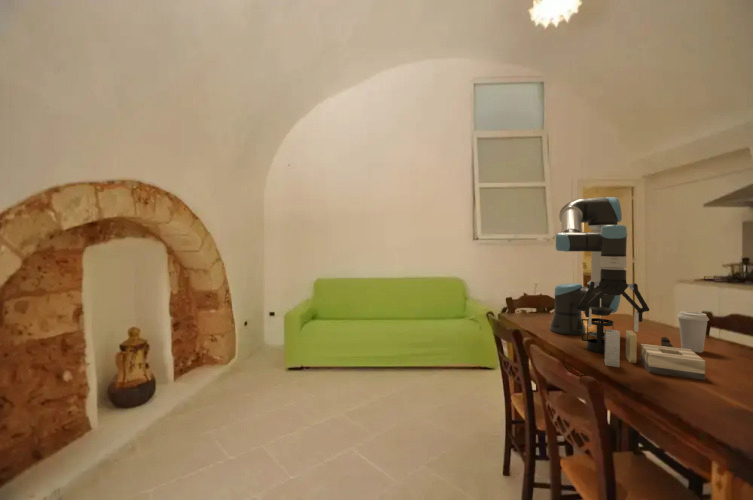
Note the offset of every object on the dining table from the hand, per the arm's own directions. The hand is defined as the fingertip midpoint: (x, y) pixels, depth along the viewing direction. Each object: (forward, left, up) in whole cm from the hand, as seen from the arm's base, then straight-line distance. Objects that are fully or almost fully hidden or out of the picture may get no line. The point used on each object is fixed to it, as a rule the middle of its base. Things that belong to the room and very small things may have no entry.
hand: (612, 328), depth 122 cm
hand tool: (-28, +21, -13) cm, 37 cm away
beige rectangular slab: (-10, +7, -13) cm, 18 cm away
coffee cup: (-36, +31, -13) cm, 49 cm away
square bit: (0, 0, -13) cm, 13 cm away
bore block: (-4, +17, -13) cm, 22 cm away
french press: (-18, -2, -13) cm, 23 cm away
